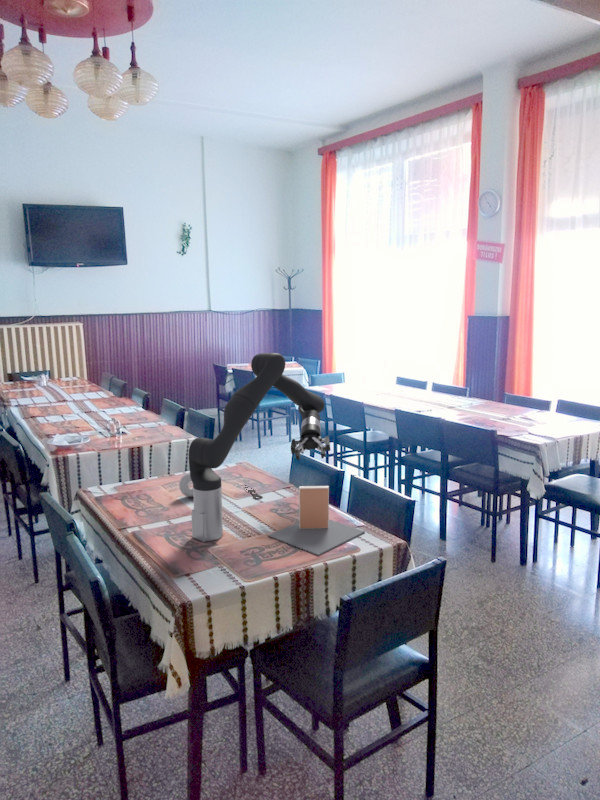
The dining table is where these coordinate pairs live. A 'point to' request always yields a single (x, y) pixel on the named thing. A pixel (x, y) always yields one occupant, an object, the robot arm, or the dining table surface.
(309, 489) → the tile
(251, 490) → the throwing knife
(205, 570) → the dining table surface
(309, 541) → the mat
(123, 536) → the dining table surface
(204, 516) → the robot arm
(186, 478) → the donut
